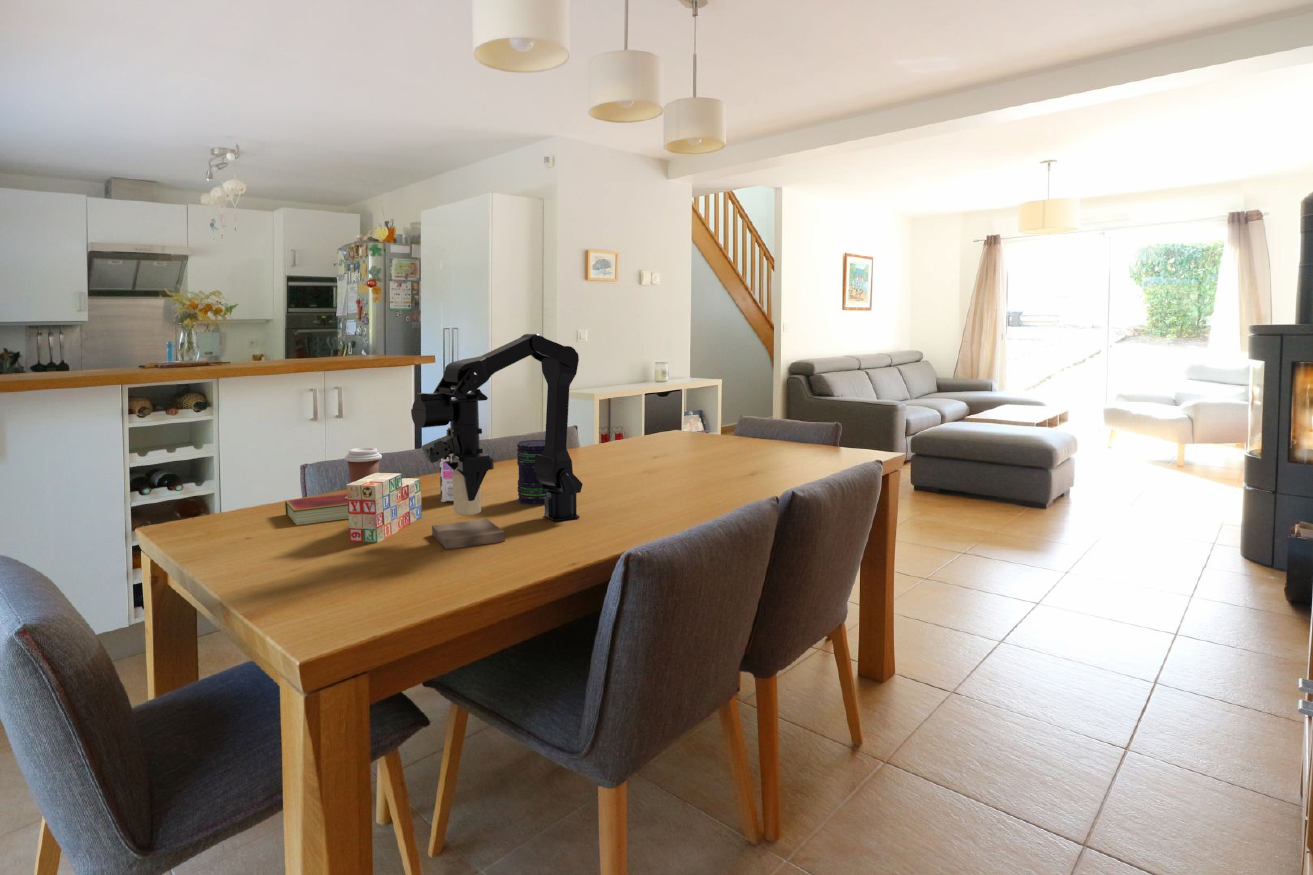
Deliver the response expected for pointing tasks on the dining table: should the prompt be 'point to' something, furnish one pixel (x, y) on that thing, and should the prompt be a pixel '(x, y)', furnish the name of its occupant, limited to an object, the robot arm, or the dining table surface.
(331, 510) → the hardcover book
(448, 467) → the candy box
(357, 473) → the coffee cup
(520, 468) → the storage jar
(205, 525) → the dining table surface
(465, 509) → the candle
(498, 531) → the grey square slab
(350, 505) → the stack of blocks
